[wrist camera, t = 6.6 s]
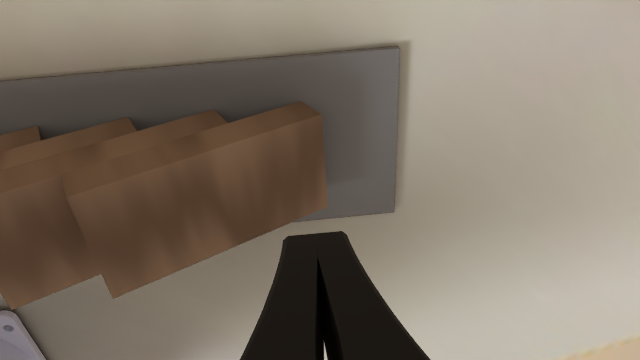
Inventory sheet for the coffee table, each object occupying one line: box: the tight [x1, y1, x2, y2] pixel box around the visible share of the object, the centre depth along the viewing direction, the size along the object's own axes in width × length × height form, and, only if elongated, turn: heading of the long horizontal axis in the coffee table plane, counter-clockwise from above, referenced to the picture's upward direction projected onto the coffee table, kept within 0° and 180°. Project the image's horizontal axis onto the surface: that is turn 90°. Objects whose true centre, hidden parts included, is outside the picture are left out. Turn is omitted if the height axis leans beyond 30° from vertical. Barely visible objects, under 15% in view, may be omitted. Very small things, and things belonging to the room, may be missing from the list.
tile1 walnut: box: [61, 101, 328, 298], centre depth 17 cm, size 4×2×9 cm
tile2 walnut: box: [0, 109, 228, 310], centre depth 17 cm, size 4×2×9 cm
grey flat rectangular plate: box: [0, 46, 400, 222], centre depth 19 cm, size 8×19×1 cm, turn 94°
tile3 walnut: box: [0, 117, 137, 171], centre depth 17 cm, size 4×2×9 cm
